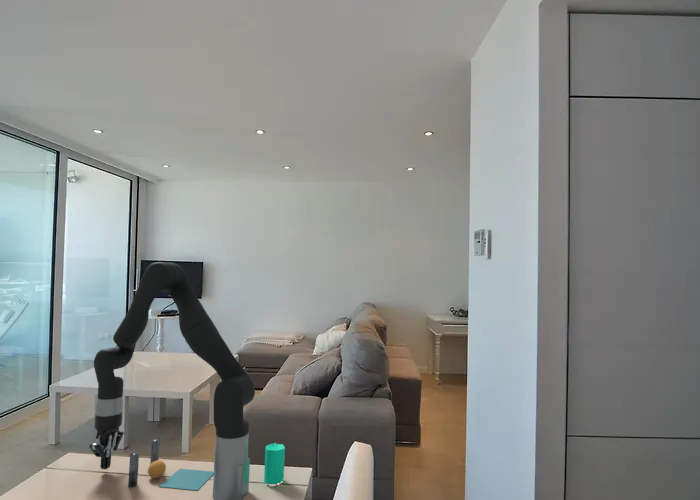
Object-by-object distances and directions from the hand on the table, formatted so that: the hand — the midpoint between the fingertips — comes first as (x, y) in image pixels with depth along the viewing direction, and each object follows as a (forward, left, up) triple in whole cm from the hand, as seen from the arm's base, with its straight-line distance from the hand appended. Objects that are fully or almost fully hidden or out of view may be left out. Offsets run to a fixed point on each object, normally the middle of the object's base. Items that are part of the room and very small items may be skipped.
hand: (105, 468), depth 134 cm
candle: (-53, -4, -2) cm, 53 cm away
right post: (-13, -5, -2) cm, 14 cm away
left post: (-13, +6, -2) cm, 14 cm away
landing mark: (-27, -1, -2) cm, 27 cm away
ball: (-17, 0, +1) cm, 17 cm away
